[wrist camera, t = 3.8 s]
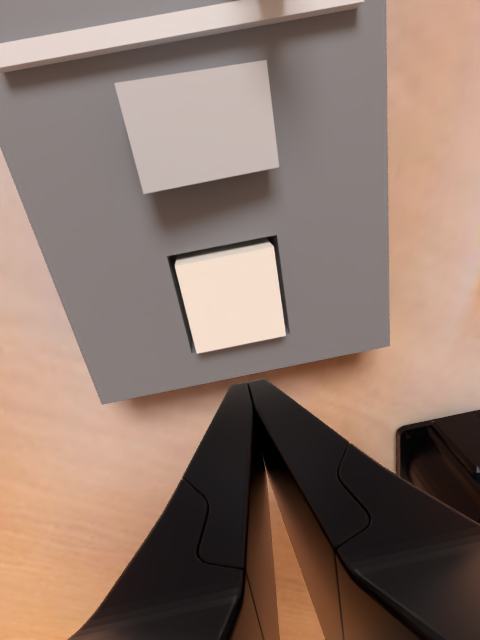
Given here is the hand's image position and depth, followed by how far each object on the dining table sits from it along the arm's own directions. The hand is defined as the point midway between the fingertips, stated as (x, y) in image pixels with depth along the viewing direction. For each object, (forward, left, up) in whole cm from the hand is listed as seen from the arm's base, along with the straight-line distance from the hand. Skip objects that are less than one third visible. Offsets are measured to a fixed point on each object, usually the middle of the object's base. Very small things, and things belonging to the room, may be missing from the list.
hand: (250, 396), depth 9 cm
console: (+6, 0, -11) cm, 12 cm away
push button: (0, 0, -10) cm, 10 cm away
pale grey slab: (+6, 0, -7) cm, 9 cm away
